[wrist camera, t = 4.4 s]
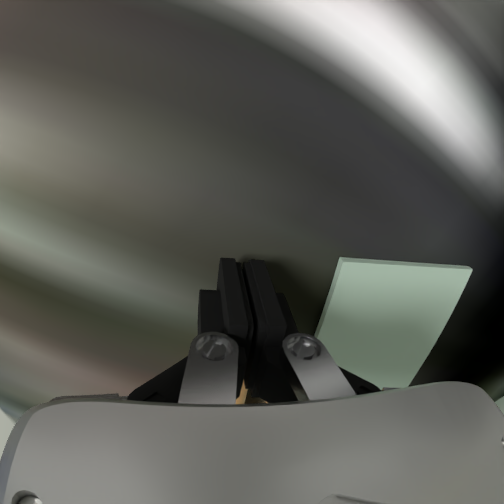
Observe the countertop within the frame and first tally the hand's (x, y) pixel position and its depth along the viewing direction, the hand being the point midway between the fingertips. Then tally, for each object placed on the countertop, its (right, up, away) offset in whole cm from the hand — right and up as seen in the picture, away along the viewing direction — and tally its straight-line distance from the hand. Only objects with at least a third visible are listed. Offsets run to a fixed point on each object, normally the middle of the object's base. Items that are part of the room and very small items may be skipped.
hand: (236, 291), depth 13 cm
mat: (+8, -7, +6) cm, 12 cm away
